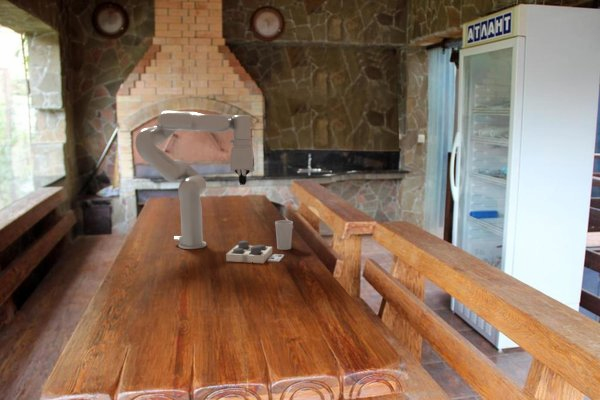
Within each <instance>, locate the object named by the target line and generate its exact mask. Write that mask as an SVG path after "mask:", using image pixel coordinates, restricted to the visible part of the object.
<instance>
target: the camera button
mask: <svg viewBox="0 0 600 400" xmlns="http://www.w3.org/2000/svg"><path fill="white" fill-rule="evenodd" d="M232 249H233V248H232ZM243 253H244V249H242V248H236V249H233V254H243Z"/></svg>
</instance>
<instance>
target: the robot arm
mask: <svg viewBox="0 0 600 400" xmlns="http://www.w3.org/2000/svg"><path fill="white" fill-rule="evenodd" d="M251 126H252V125H251V116H250V115H249V114H228V113H224V114H223V113H222V114H207V113H206V114H205V113H198V112H196V111H187V110H186V111H185V110H184V111H181V110H180V111H178V110H173V109H172V110H164V111H162V112H160V114H159V115H158V117H157V122H156V124H155V125H153V126H152V127H145V128H142V129H141V130H139V131H138V133H137V134H136V136H135V143H134V144H135V148H136V151H137V153H138V155H139V156H140V158H142V159H143V161H145V162H146V163H147V164H148V165H150V167H151V168H153V169H154V170H155V171H156V172H157V173H158V174H159V175H160V176H161V177H163V179H165V180H166V181H167V182H169V183H177V182H178V183H179V185H178V187H177V188H178V189H177V192H178V193H177V194H178V200H179V208H180V209H179V210H180V229H181V235H180V236H178V235H175V236H173V241H174V242H179V243H178V248H179V249H183V250H184V249H185V250H195V249H196V250H197V249H203V248H205V247H206V246H207V242H206V241H204V237H203V211H202V210H203V208H202V200H201V195H202V194H203V193H204V192H205V191H206V189H207V182H206V180H205V178H204V177H203V175H201V174H200V173H199V172H198V171H196V170H195V168H193V167H192V166H191V165H190V164H188V162H186V161H184V160H183V159H172V157H170V156H169V155H168V154H167V153H165V152H164V151H163V150H162V149H161V148H159V147H158V146H159V145H161V144H163V143H165V142H166V141H167V140H168V138H170V137H171V136H172V135H173V134H174V133H175V132H176V131H185V132H186V131H187V132H201V133H203V132H206V133H225V132H226V133H227V132H229V131H230V132H231V131H232V133H233V134H232V135H233V138H232V140H230V144H232V145H233V146H231V148H230V156H229V167H230V171H231V172H234V173H235V174H237V175H238V183H239V185H240V186H245V185H246V184H247V176H248V174H250V173H253V172H255V155H254V148H253V146H252V142H251V141H252V140H251V138H252V135H251V134H252V133H251V130H252V129H251ZM242 170H243V171H242Z"/></svg>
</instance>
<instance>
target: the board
mask: <svg viewBox="0 0 600 400" xmlns="http://www.w3.org/2000/svg"><path fill="white" fill-rule="evenodd" d="M252 246H253V245H249V249H248V250H246V249H244V253H243V254H233V249H236V248H239V247H238V244H236V245H235V246H234V247H233V248H232V249H231V250H229V251H228V252H227V253H226V254H225V259H226V260H225V261H226V262H237V263H252V262H253V263H255V264H265V262H266V261H268V259H269V258H270V257H271V256H272V254H273V246H266V250H265V251H264V250H261V255H251V247H252ZM253 263H252V264H253Z"/></svg>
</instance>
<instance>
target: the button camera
mask: <svg viewBox="0 0 600 400" xmlns="http://www.w3.org/2000/svg"><path fill="white" fill-rule="evenodd" d="M251 246H252V247H251V255H261V247H260V246H256V245H251Z"/></svg>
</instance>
